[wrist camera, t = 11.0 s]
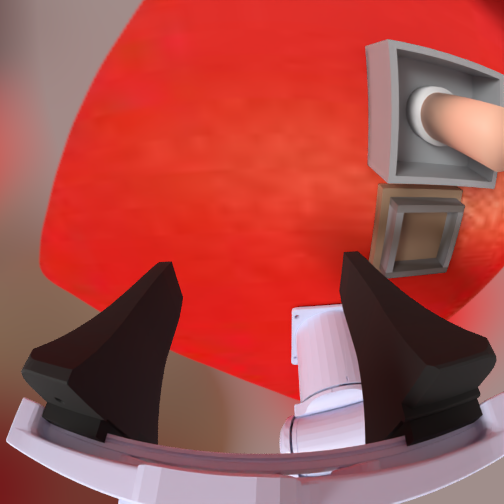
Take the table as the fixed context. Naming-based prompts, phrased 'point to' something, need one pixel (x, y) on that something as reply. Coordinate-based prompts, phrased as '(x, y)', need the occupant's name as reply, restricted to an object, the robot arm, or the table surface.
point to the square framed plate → (415, 228)
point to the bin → (395, 120)
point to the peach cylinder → (458, 124)
